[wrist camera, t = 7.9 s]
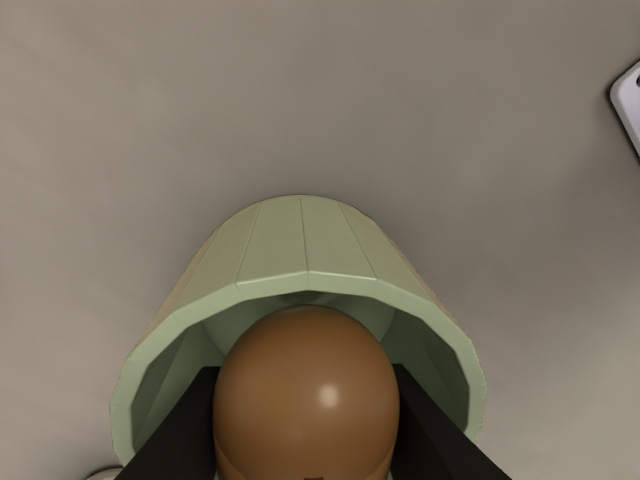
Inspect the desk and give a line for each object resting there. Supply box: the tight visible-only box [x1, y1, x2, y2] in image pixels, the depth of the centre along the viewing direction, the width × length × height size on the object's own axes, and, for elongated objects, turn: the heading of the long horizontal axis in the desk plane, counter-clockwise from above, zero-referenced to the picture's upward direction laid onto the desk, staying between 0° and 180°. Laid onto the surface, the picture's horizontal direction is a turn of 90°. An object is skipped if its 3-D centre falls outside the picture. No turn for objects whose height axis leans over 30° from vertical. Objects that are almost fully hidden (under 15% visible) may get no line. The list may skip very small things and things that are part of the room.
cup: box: [109, 195, 487, 480], centre depth 12 cm, size 10×10×7 cm
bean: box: [212, 304, 400, 480], centre depth 9 cm, size 7×5×5 cm
